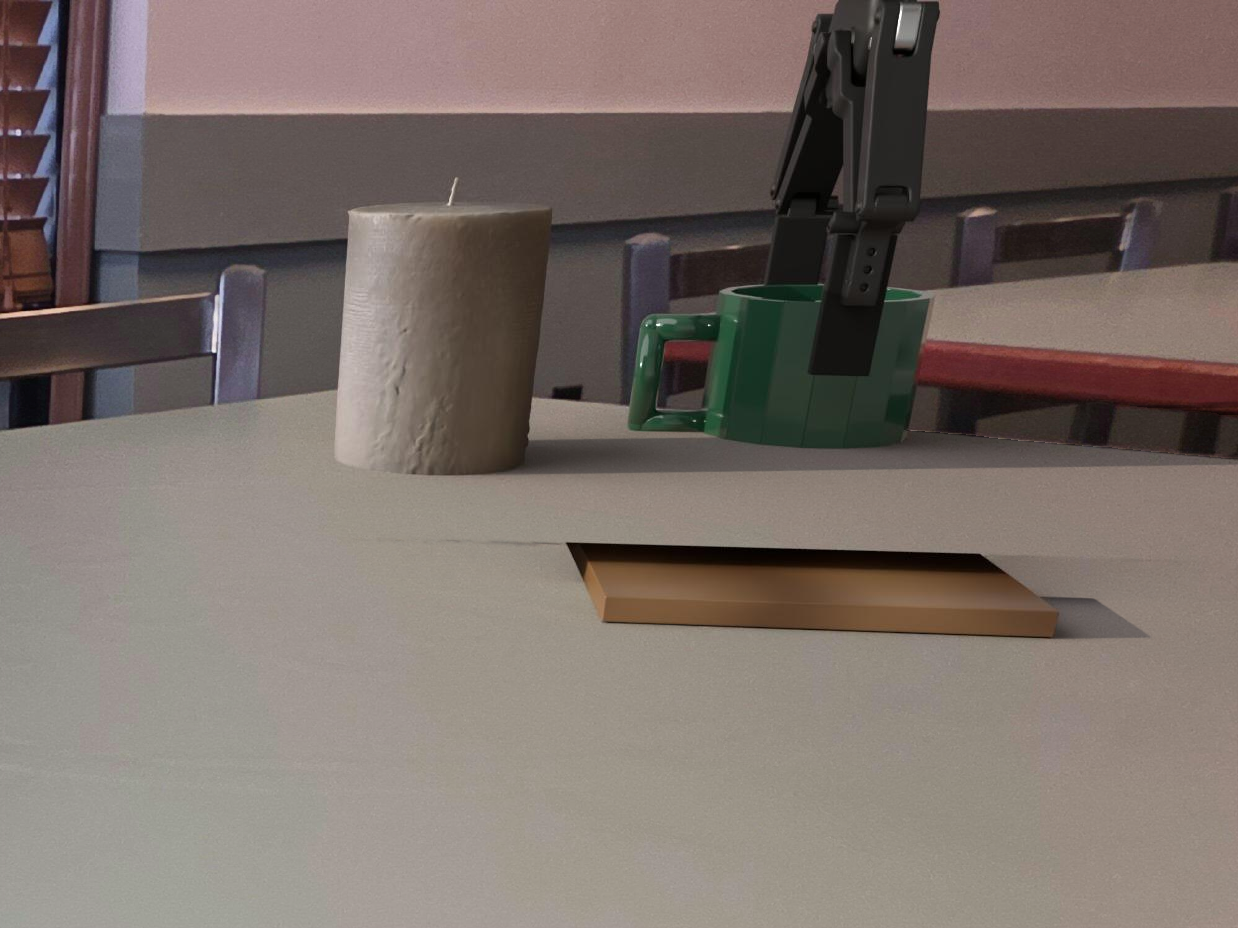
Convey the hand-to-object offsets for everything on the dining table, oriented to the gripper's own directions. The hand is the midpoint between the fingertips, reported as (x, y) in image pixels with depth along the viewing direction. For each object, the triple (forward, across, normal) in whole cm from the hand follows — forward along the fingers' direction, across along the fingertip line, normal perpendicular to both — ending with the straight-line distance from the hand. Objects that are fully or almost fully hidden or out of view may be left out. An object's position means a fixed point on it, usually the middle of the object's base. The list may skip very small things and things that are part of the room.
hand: (806, 357), depth 92 cm
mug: (+6, 0, -2) cm, 6 cm away
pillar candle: (+6, +10, -20) cm, 23 cm away
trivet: (+6, +26, -6) cm, 27 cm away
